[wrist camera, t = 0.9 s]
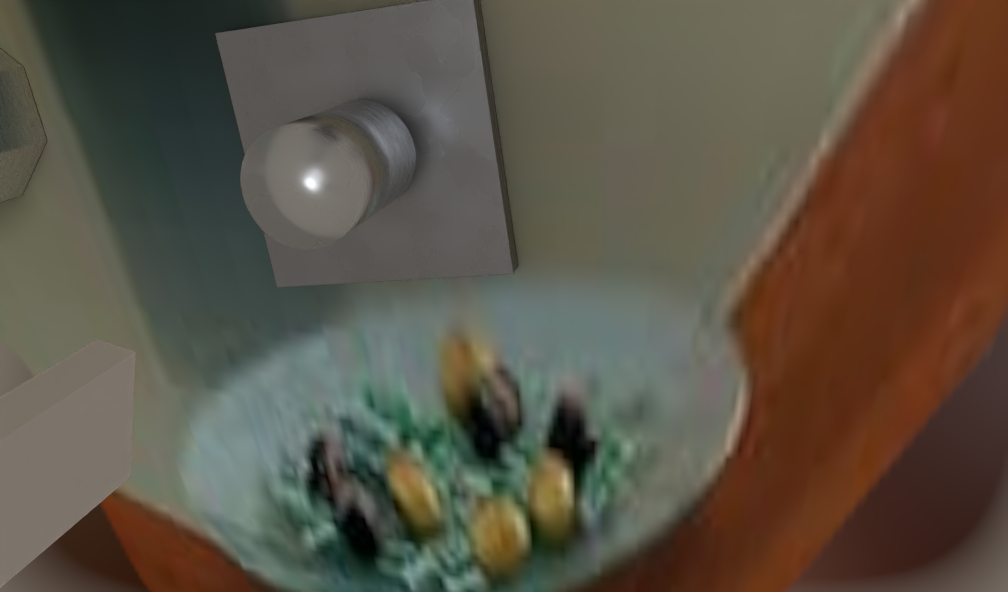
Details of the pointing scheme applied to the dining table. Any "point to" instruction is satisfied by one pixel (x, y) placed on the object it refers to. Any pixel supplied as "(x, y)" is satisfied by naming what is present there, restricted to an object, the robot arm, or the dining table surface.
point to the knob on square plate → (372, 144)
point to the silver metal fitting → (17, 129)
